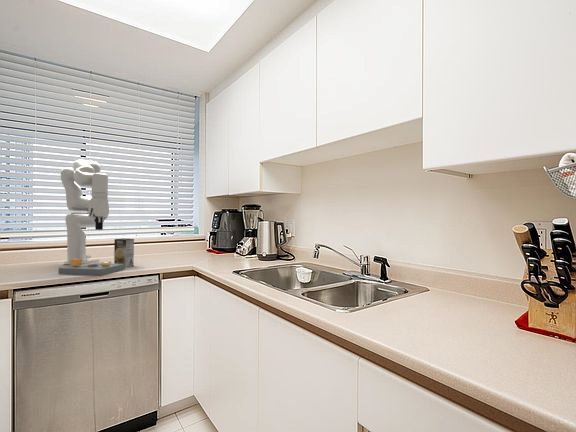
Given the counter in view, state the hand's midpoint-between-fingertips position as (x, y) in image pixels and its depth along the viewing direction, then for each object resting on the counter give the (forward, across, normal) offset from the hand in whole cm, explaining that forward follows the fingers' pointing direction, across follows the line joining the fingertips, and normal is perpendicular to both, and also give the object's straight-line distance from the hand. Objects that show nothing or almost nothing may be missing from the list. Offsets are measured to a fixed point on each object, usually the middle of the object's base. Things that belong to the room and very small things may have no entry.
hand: (99, 229), depth 169 cm
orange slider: (+19, +8, -6) cm, 22 cm away
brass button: (+18, +5, +9) cm, 21 cm away
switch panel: (+22, +5, +2) cm, 23 cm away
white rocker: (+18, +5, +1) cm, 18 cm away
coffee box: (+22, -15, +4) cm, 27 cm away
